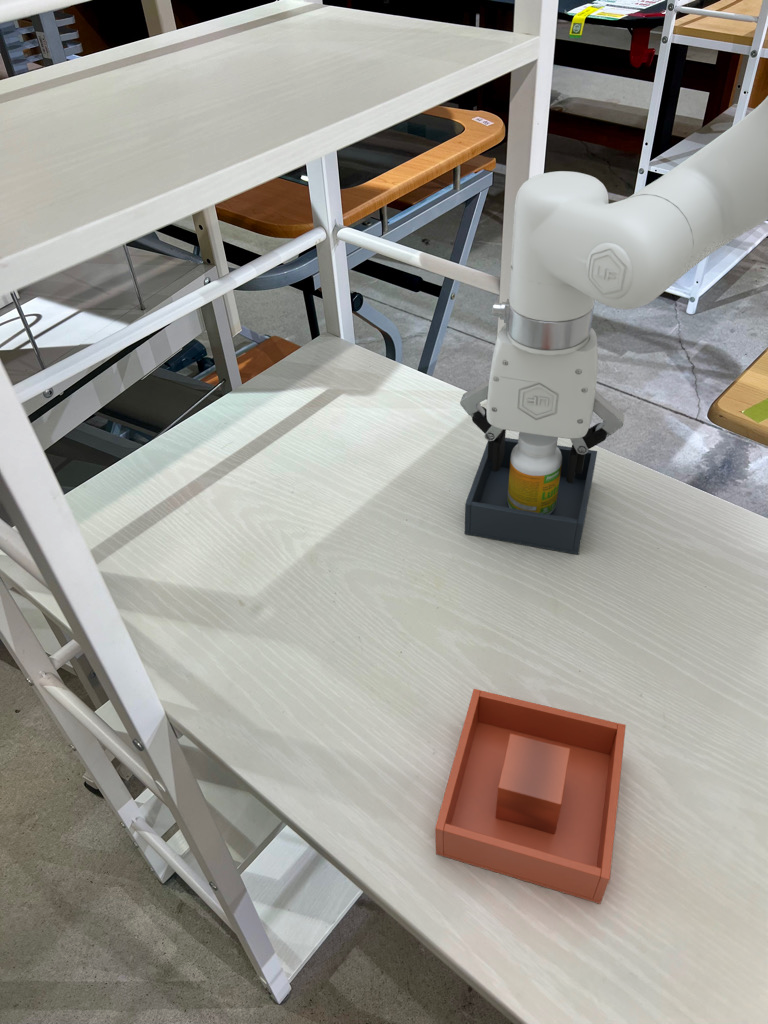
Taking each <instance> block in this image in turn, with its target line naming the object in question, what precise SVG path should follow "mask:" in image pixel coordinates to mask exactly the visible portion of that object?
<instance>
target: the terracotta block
mask: <svg viewBox="0 0 768 1024" xmlns="http://www.w3.org/2000/svg"><path fill="white" fill-rule="evenodd" d="M569 755H570V749H569V748H566V747H562V746H558V745H554V744H550V743H546V742H542V741H538V740H534V739H530V738H526V737H522V736H518V735H514V734H510V736H509V741H508V745H507V750H506V754H505V759H504V763H503V767H502V772H501V776H500V781H499V785H498V793H497V804H496V815H495V817H496V818H498V819H501V820H505V821H508V822H512V823H515V824H519V825H523V826H526V827H530V828H533V829H537V830H540V831H544V832H547V833H551V834H555V832H556V828H557V823H558V819H559V814H560V810H561V805H562V799H563V793H564V787H565V780H566V774H567V768H568V762H569Z"/></svg>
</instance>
